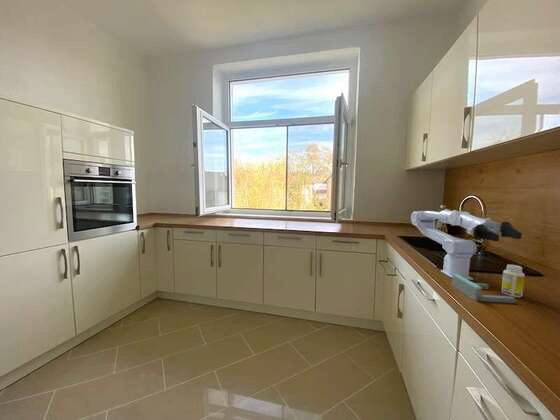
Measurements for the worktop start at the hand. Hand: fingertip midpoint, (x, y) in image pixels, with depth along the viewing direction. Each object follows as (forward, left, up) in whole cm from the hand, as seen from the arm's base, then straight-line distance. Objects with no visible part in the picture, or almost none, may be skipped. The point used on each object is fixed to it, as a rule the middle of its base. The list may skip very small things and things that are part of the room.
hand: (509, 237), depth 85 cm
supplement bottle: (-3, +6, -21) cm, 22 cm away
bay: (-2, -5, -21) cm, 22 cm away
